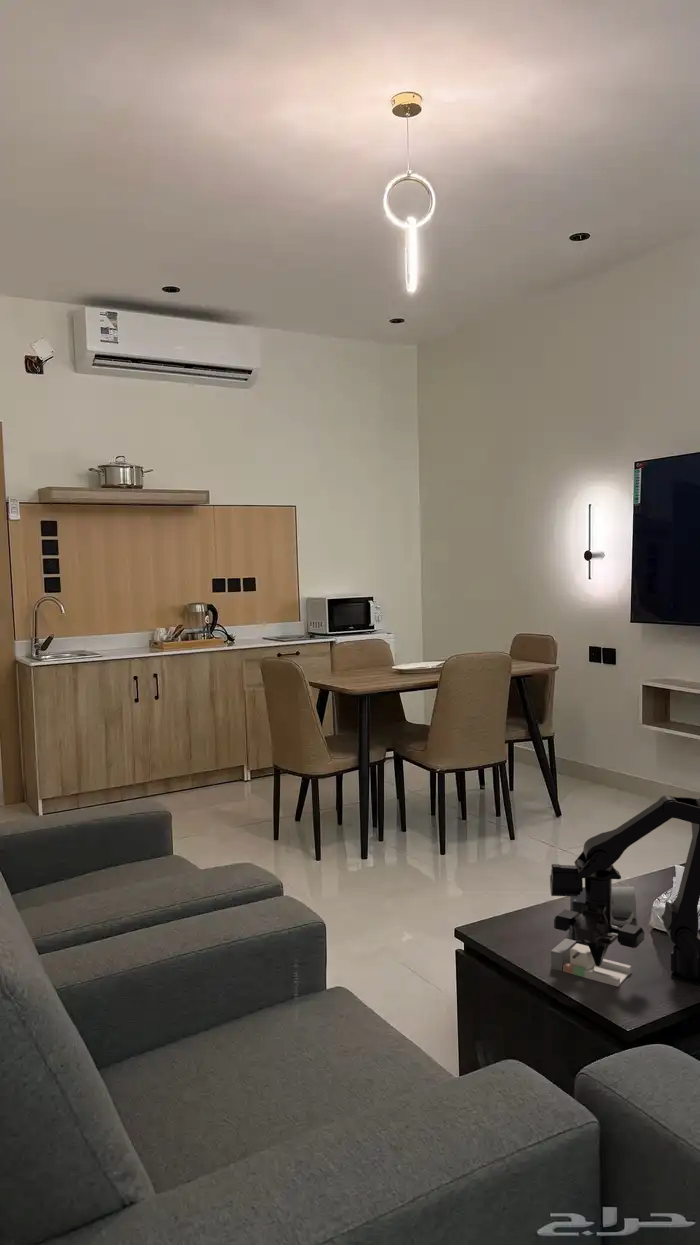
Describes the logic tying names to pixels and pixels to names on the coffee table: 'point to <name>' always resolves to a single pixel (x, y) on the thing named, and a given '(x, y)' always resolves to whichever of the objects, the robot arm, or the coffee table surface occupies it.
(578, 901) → the small box
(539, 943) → the coffee table surface
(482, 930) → the coffee table surface
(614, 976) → the base
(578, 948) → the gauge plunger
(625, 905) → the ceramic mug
